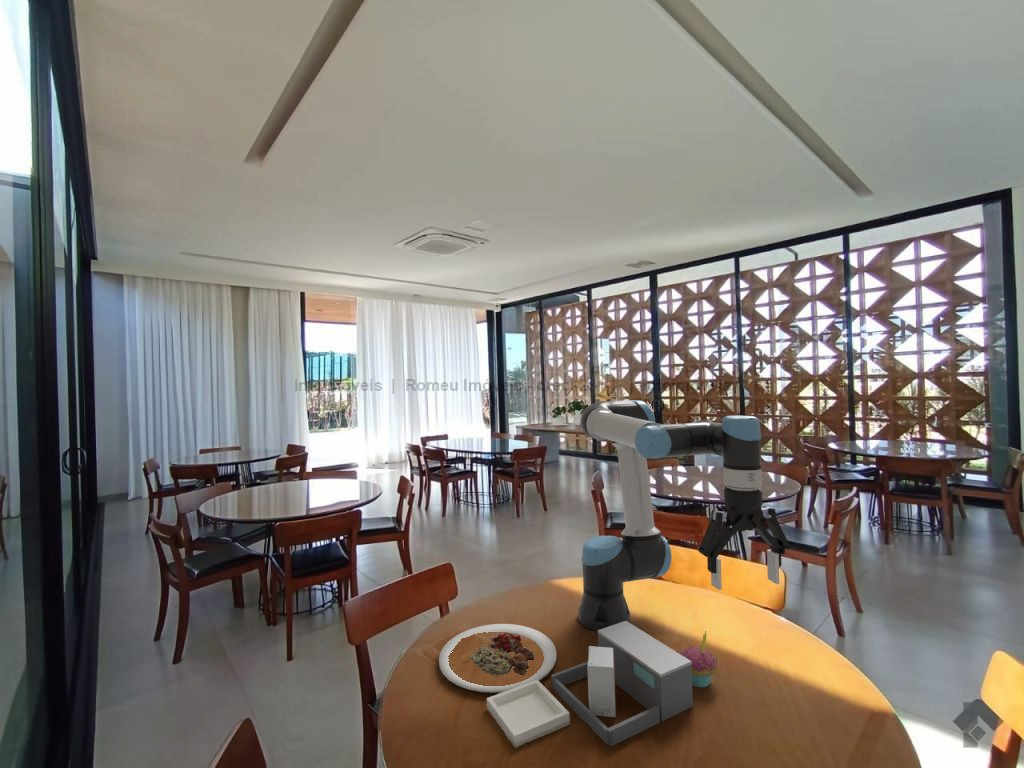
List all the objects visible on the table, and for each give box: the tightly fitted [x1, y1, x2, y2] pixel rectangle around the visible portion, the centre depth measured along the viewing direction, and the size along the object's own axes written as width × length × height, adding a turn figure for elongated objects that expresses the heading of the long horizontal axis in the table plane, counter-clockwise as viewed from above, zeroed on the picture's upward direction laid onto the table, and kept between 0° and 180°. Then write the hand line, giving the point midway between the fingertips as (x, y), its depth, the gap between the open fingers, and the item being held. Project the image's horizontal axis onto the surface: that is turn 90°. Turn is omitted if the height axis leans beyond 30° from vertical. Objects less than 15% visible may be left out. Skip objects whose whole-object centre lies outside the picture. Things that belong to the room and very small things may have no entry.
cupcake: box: [678, 630, 718, 688], centre depth 109 cm, size 9×8×12 cm
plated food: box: [438, 623, 558, 694], centre depth 121 cm, size 30×30×3 cm
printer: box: [550, 621, 694, 748], centre depth 105 cm, size 21×23×10 cm
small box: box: [587, 645, 617, 718], centre depth 103 cm, size 8×6×10 cm
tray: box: [486, 680, 571, 748], centre depth 99 cm, size 13×13×2 cm
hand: (745, 584), depth 103 cm, fingers open, 13 cm apart
